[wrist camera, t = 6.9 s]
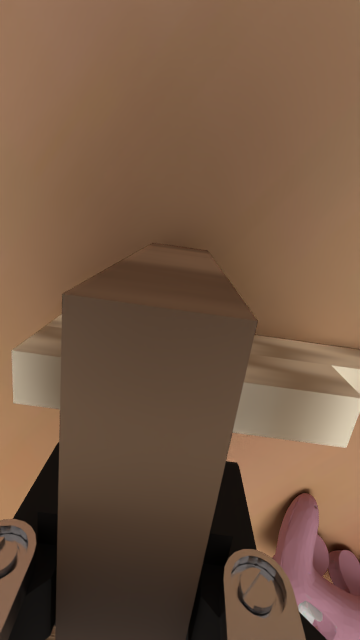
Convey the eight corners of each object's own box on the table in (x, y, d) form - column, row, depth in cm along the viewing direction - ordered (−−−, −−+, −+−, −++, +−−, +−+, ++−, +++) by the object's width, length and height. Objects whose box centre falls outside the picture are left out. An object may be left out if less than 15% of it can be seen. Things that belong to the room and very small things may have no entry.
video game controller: (262, 498, 24) (254, 619, 19) (306, 485, 21) (311, 627, 15) (359, 550, 25) (376, 676, 20) (414, 545, 22) (451, 694, 17)
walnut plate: (152, 242, 13) (62, 293, 4) (207, 250, 13) (257, 320, 4) (129, 464, 17) (52, 778, 7) (172, 470, 17) (151, 789, 7)
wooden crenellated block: (67, 346, 18) (13, 402, 13) (68, 308, 18) (11, 350, 12) (424, 395, 19) (527, 472, 13) (439, 360, 18) (556, 425, 12)
